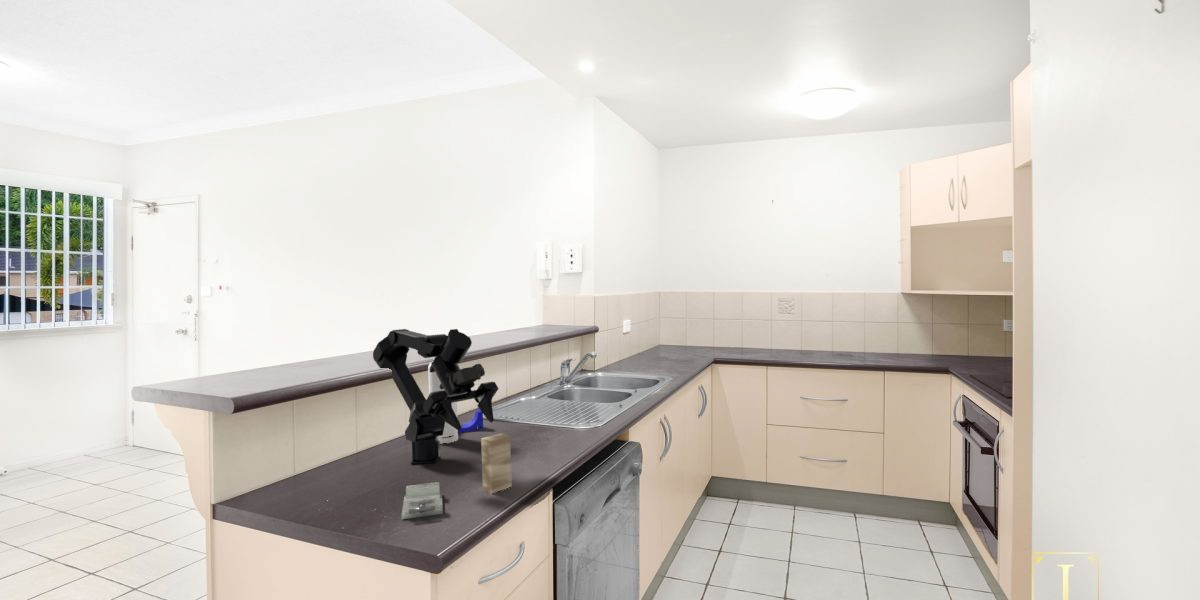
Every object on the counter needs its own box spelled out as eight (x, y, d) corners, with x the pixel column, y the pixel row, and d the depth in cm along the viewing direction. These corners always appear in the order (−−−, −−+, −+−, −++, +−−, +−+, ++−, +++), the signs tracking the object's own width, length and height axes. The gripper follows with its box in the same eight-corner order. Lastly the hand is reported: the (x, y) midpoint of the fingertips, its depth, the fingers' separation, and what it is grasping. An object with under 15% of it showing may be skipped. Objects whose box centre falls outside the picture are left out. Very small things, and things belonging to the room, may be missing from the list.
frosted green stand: (404, 499, 123) (403, 485, 123) (442, 494, 125) (441, 480, 125) (401, 523, 110) (400, 507, 110) (442, 517, 113) (442, 501, 113)
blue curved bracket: (479, 426, 185) (478, 409, 185) (483, 429, 181) (482, 411, 181) (442, 432, 179) (442, 413, 179) (446, 435, 175) (445, 416, 175)
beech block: (482, 490, 127) (481, 438, 127) (502, 483, 131) (500, 433, 131) (492, 494, 125) (490, 441, 124) (511, 487, 129) (510, 435, 128)
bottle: (438, 436, 174) (435, 347, 173) (462, 436, 172) (459, 347, 172) (425, 443, 166) (422, 350, 165) (450, 444, 164) (447, 350, 164)
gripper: (427, 358, 129) (455, 413, 122) (493, 350, 143) (521, 398, 136) (411, 388, 135) (437, 441, 128) (476, 377, 149) (502, 424, 142)
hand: (476, 425), depth 133 cm, fingers open, 9 cm apart
